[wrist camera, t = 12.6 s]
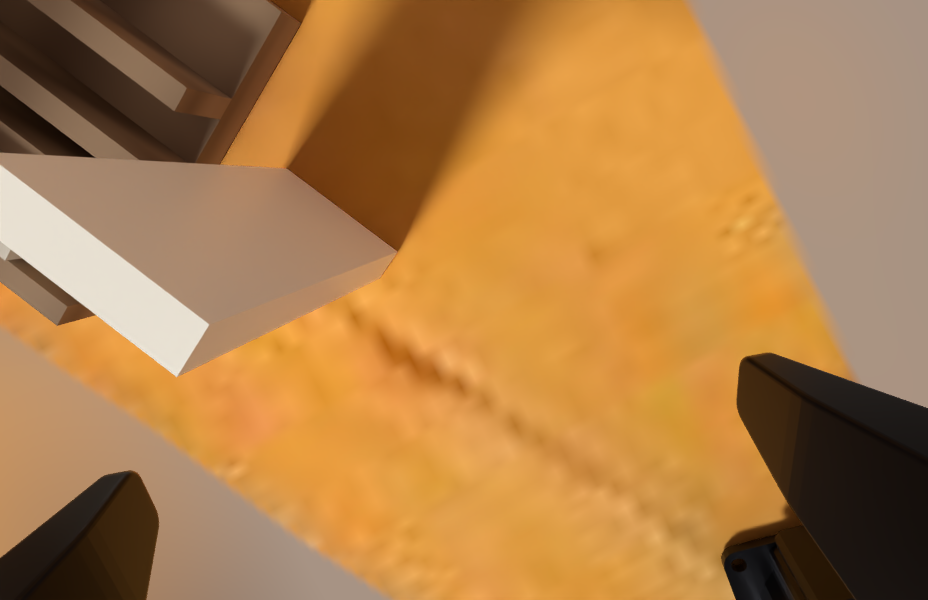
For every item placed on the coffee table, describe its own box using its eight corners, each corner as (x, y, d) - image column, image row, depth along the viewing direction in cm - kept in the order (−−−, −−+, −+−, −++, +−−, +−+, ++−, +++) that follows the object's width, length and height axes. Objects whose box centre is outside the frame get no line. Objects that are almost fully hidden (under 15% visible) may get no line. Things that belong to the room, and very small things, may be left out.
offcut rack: (301, 23, 22) (189, -43, 15) (132, 313, 25) (-19, 357, 18) (50, -163, 22) (-162, -304, 16) (-85, 146, 25) (-307, 133, 19)
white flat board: (397, 251, 22) (208, 324, 11) (379, 278, 23) (177, 377, 11) (286, 168, 23) (-17, 151, 11) (270, 195, 23) (-44, 207, 11)
